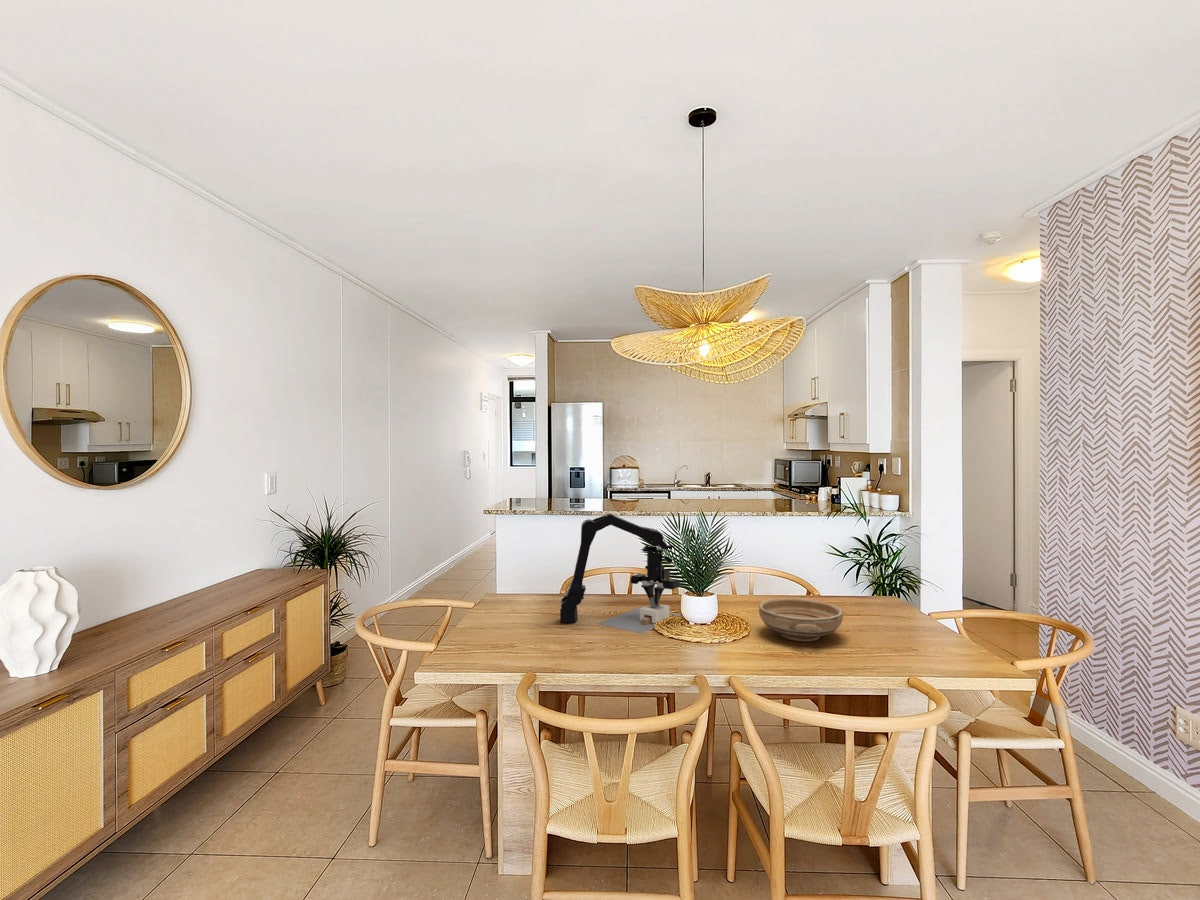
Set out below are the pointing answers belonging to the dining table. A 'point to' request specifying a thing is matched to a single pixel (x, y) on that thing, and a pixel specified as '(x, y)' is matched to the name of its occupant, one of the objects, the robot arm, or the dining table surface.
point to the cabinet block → (654, 611)
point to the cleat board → (631, 621)
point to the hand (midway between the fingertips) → (654, 604)
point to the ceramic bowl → (800, 617)
